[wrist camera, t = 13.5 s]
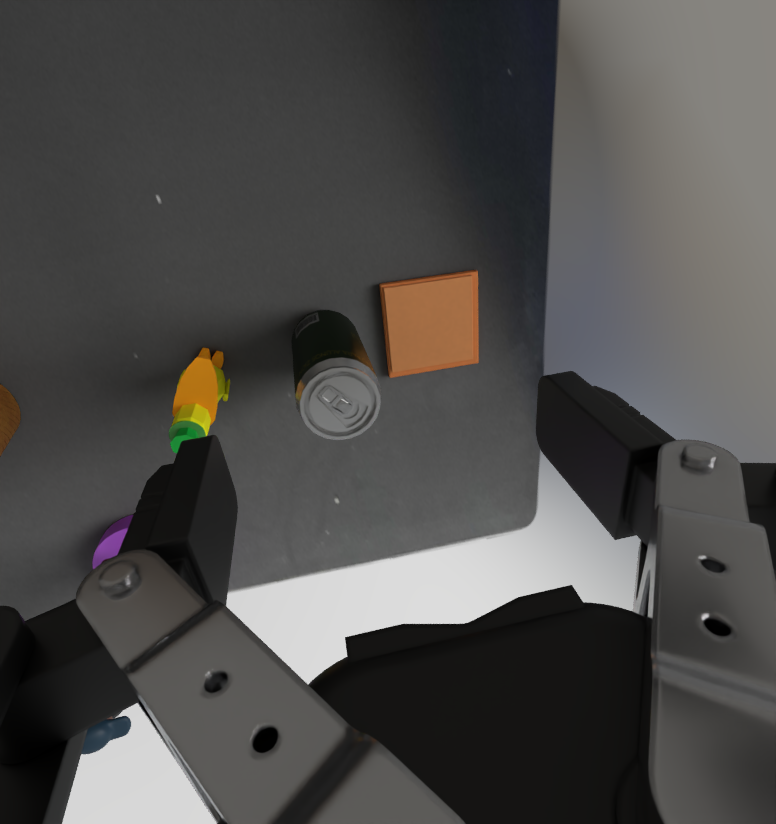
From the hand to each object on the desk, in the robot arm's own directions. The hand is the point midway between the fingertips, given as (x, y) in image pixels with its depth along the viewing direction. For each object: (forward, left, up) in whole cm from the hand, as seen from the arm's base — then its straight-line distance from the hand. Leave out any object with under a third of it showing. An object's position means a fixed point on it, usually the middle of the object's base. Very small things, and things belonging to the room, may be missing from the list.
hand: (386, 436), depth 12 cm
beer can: (0, +7, -29) cm, 30 cm away
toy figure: (+9, +7, -29) cm, 31 cm away
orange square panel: (-9, +7, -28) cm, 31 cm away
